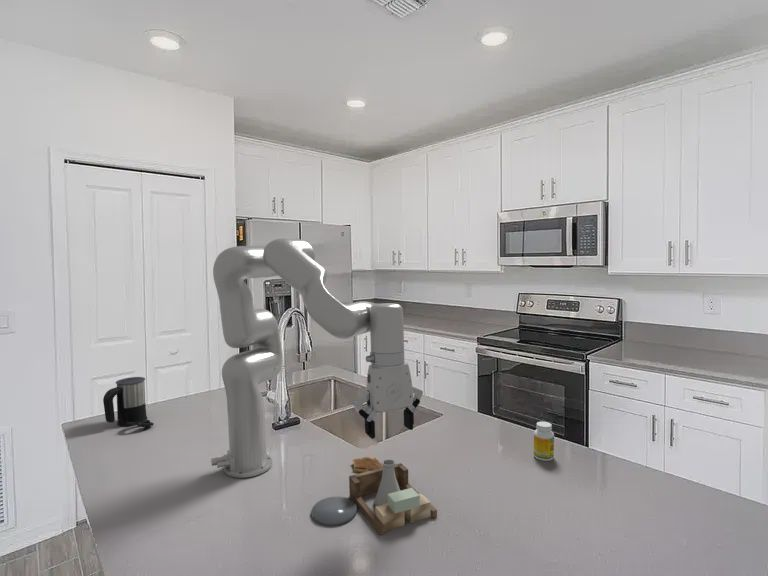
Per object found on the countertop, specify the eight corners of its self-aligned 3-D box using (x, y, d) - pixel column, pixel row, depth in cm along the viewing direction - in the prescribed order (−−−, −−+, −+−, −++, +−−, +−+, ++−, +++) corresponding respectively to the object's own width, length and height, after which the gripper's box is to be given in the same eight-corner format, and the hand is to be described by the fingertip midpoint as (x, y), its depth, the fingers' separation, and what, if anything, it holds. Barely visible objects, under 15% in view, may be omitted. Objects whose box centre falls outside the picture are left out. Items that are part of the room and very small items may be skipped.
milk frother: (130, 416, 162) (127, 376, 161) (170, 417, 160) (168, 377, 159) (100, 431, 148) (97, 388, 147) (143, 433, 146) (141, 389, 145)
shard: (388, 479, 116) (388, 472, 116) (360, 485, 113) (360, 478, 113) (375, 461, 126) (375, 455, 126) (348, 466, 123) (348, 459, 123)
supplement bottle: (534, 451, 130) (535, 419, 129) (554, 454, 127) (555, 422, 127) (532, 459, 125) (532, 425, 124) (553, 463, 123) (553, 428, 122)
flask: (372, 496, 107) (371, 455, 106) (402, 494, 108) (402, 454, 107) (374, 513, 100) (373, 470, 99) (406, 511, 101) (406, 468, 100)
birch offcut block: (411, 523, 96) (410, 508, 96) (402, 514, 100) (401, 499, 100) (430, 517, 99) (430, 502, 98) (421, 508, 102) (421, 493, 102)
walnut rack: (379, 534, 92) (379, 511, 92) (349, 496, 107) (349, 475, 107) (437, 516, 99) (437, 494, 98) (401, 482, 113) (400, 463, 113)
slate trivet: (320, 530, 94) (320, 527, 94) (306, 506, 103) (306, 503, 103) (363, 517, 98) (363, 514, 98) (346, 495, 107) (346, 492, 107)
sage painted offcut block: (394, 513, 94) (394, 502, 94) (387, 505, 97) (387, 494, 97) (419, 506, 97) (419, 495, 97) (412, 498, 100) (411, 487, 100)
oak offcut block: (383, 532, 94) (383, 516, 93) (375, 522, 97) (375, 506, 97) (404, 525, 96) (404, 510, 95) (395, 515, 99) (395, 500, 99)
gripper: (359, 367, 94) (361, 446, 95) (429, 356, 102) (431, 430, 103) (345, 360, 101) (348, 434, 102) (412, 350, 108) (414, 419, 110)
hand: (390, 432), depth 102 cm, fingers open, 9 cm apart
